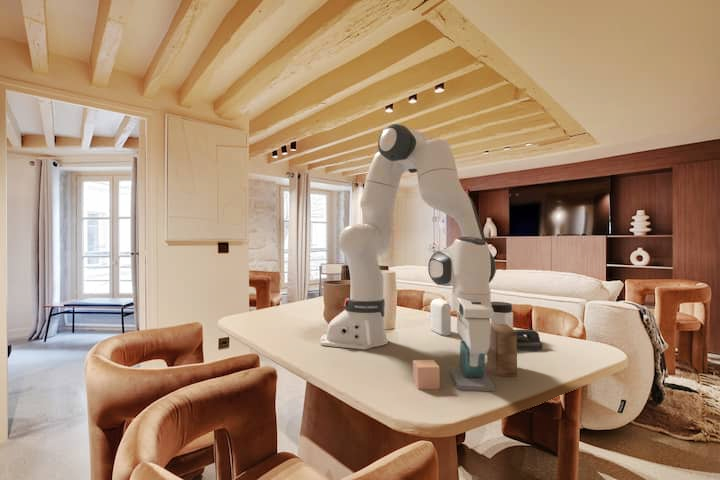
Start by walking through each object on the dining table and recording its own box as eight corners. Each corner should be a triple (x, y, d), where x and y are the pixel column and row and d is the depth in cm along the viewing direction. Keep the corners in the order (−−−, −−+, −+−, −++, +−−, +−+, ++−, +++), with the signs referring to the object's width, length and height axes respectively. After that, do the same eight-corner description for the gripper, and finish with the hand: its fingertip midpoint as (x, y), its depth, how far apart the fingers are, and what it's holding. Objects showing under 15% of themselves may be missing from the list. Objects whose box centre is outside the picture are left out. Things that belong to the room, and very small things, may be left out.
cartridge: (465, 376, 85) (465, 347, 84) (459, 367, 89) (460, 340, 88) (484, 376, 85) (485, 347, 84) (477, 367, 89) (478, 340, 88)
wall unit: (496, 375, 89) (496, 331, 89) (486, 363, 99) (486, 323, 99) (517, 376, 89) (517, 332, 89) (506, 363, 98) (506, 323, 98)
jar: (516, 340, 122) (517, 305, 122) (493, 340, 121) (493, 305, 121) (504, 334, 131) (504, 301, 131) (482, 334, 130) (483, 301, 130)
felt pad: (457, 389, 81) (457, 385, 81) (450, 370, 93) (450, 366, 93) (494, 391, 80) (494, 386, 80) (481, 372, 92) (482, 368, 92)
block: (417, 389, 81) (417, 367, 81) (412, 381, 86) (412, 360, 86) (439, 389, 81) (439, 366, 81) (433, 380, 86) (433, 359, 86)
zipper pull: (458, 324, 118) (530, 323, 120) (458, 344, 118) (530, 342, 120) (468, 330, 109) (546, 329, 111) (468, 352, 109) (546, 351, 111)
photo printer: (428, 329, 137) (429, 297, 137) (439, 329, 138) (439, 296, 138) (441, 336, 127) (441, 301, 127) (452, 335, 128) (452, 301, 128)
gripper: (451, 297, 97) (451, 347, 97) (465, 311, 77) (465, 375, 77) (475, 297, 96) (474, 348, 96) (495, 312, 76) (495, 377, 76)
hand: (470, 361), depth 86 cm, fingers closed on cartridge, 5 cm apart
